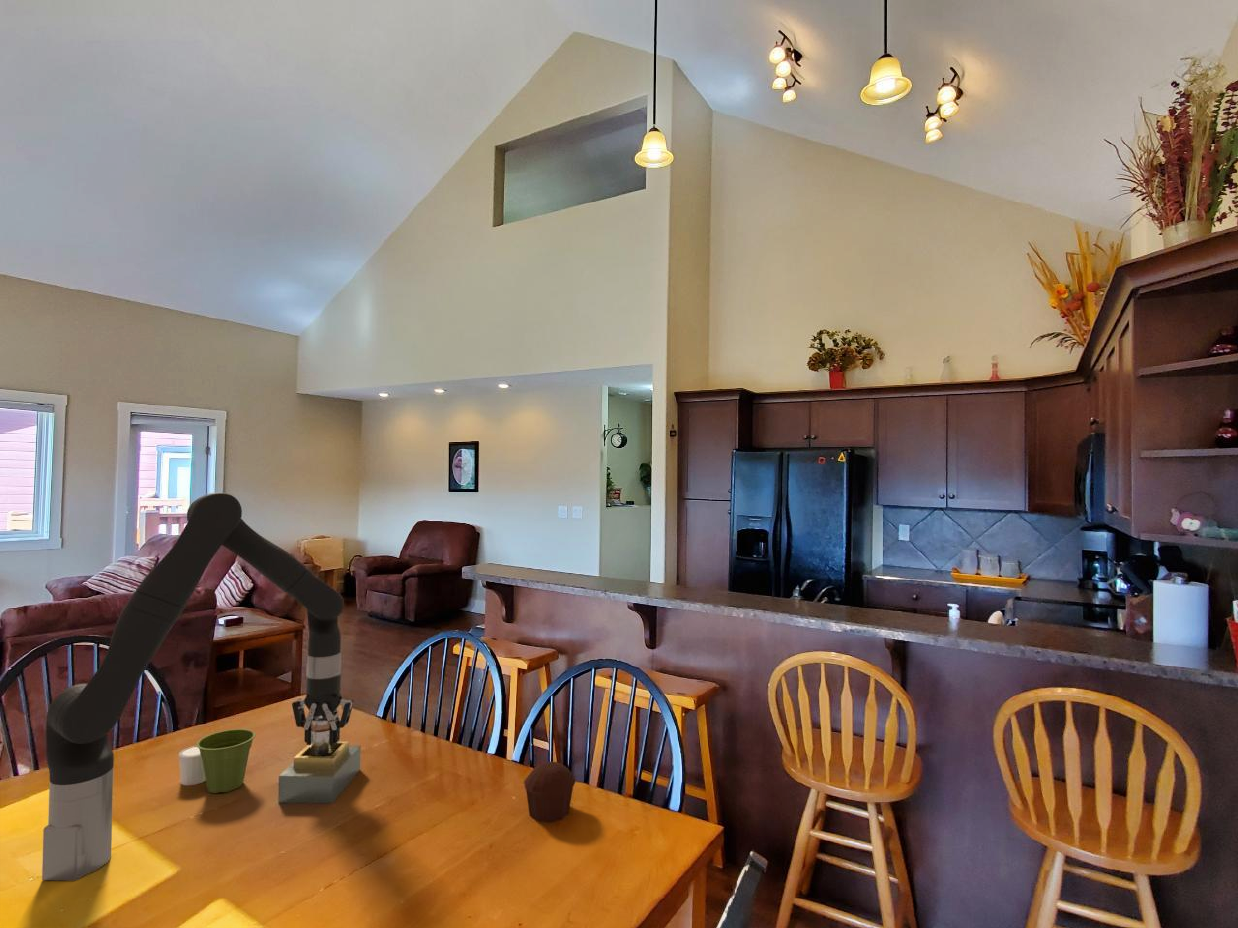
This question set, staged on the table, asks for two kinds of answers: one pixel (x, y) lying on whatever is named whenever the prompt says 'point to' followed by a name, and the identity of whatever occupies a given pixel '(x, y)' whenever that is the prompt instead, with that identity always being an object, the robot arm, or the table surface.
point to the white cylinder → (191, 766)
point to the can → (320, 737)
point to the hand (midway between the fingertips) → (322, 743)
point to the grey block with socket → (319, 775)
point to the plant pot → (225, 758)
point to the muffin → (549, 791)
